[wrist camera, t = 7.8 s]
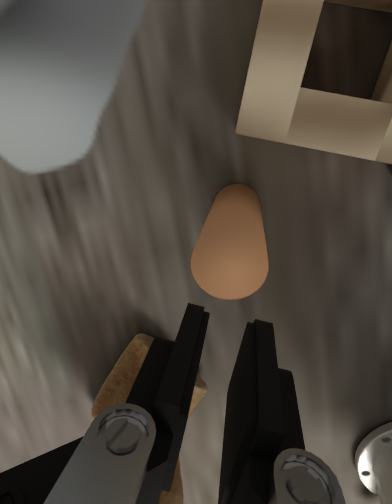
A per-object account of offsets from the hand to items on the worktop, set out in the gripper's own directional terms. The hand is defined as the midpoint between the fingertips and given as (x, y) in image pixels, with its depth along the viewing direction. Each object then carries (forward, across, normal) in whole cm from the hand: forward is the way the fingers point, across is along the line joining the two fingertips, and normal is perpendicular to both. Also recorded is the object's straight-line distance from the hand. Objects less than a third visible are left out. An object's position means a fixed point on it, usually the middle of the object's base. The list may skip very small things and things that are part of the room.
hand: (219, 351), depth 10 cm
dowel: (+19, 0, 0) cm, 19 cm away
